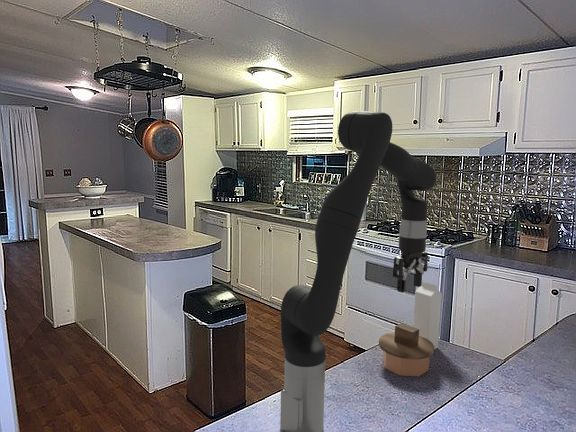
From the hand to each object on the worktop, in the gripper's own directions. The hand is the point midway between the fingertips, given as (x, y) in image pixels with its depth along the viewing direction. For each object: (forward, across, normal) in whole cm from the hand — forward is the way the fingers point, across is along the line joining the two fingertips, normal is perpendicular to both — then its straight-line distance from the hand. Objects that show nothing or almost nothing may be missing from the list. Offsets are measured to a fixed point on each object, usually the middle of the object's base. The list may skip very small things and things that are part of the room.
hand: (409, 288), depth 126 cm
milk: (+24, +16, +3) cm, 29 cm away
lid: (+18, 0, 0) cm, 18 cm away
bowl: (+24, 0, 0) cm, 24 cm away
